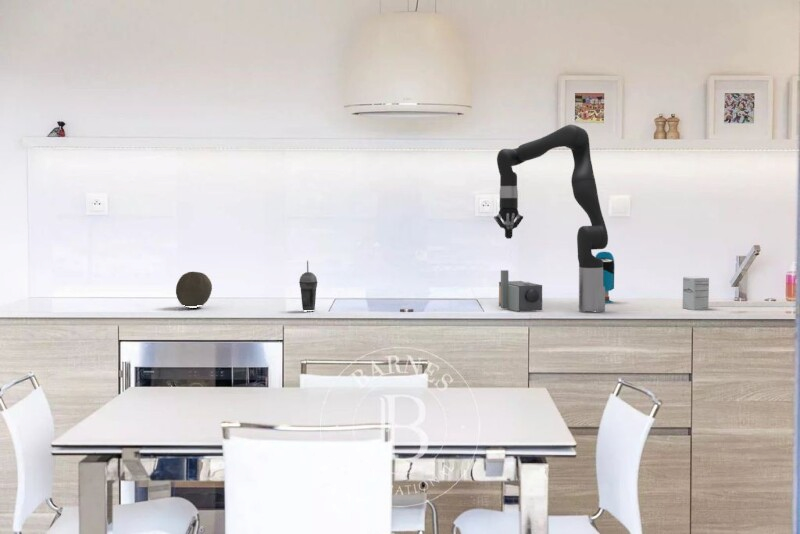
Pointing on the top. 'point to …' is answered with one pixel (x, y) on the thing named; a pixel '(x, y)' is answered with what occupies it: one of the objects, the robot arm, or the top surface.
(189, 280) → the dark brown ball
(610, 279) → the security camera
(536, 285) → the block
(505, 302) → the side door
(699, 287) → the supplement box
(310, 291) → the beverage cup
